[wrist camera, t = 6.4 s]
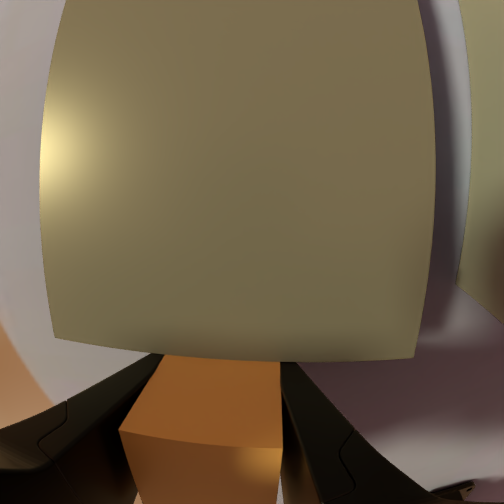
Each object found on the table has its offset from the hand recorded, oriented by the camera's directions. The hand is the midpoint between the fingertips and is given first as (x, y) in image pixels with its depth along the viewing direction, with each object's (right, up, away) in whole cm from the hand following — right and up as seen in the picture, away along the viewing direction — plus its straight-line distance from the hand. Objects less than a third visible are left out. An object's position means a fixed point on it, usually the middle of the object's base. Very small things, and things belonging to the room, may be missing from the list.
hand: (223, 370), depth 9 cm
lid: (0, +6, 0) cm, 6 cm away
